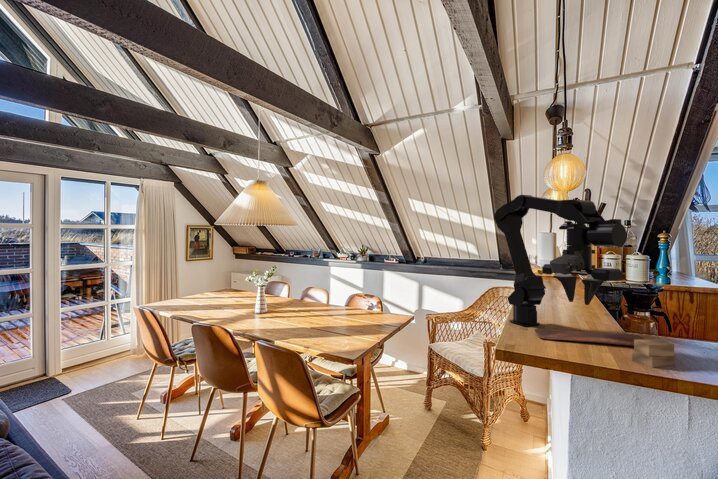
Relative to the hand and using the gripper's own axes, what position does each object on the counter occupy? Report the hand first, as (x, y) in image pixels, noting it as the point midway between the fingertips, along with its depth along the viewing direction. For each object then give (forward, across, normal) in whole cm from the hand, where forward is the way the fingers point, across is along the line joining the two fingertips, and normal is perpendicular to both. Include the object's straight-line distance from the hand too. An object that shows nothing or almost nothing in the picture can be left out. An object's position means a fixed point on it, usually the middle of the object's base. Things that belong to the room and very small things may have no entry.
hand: (578, 303), depth 89 cm
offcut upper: (+8, +17, 0) cm, 19 cm away
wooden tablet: (+10, +5, 0) cm, 11 cm away
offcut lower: (+10, +17, 0) cm, 20 cm away
